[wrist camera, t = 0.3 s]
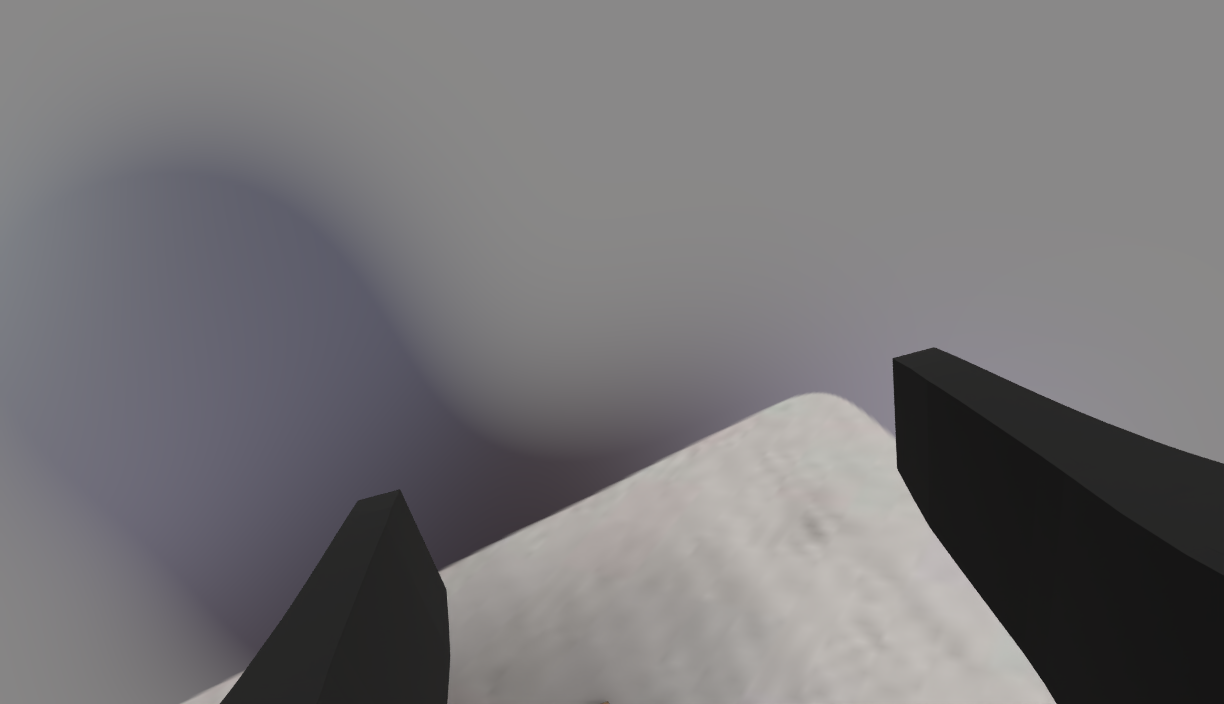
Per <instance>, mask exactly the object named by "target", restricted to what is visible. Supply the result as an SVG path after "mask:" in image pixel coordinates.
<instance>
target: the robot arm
mask: <svg viewBox="0 0 1224 704" xmlns="http://www.w3.org/2000/svg"><path fill="white" fill-rule="evenodd" d="M893 380H894V404H895V428H896V452H897V469H898V471H899V473H900V475H901V476H902V478H903V480H904V482H905V484H906V486H907V488H908V489H909V491H910V493H911V495H912V497H913V499H914V501H915V502H916V504H917V506H918V508H919V509H920V511H921V513H922V515H923V516H924V518H925V520H926V521H927V523H928V525H929V527H930V528H931V529H932V531H933V532H934V534H935V535H936V536H937V538H938V539H939V541H940V542H941V543H942V545H943V546H944V547H945V549H946V550H947V551H948V553H949V554H950V555H951V557H952V558H953V560H954V561H955V562H956V564H957V565H958V566H959V568H960V569H961V570H962V572H963V573H964V574H965V576H966V577H967V578H968V580H969V581H970V582H971V584H972V585H973V586H974V588H975V589H976V590H977V592H978V593H979V594H980V596H981V597H982V598H983V600H984V601H985V602H986V604H987V605H988V606H989V608H990V609H991V610H992V612H993V613H994V614H995V616H996V617H997V618H998V620H999V621H1000V622H1001V624H1002V625H1003V626H1004V628H1005V629H1006V630H1007V632H1008V633H1009V634H1010V636H1011V637H1012V638H1013V640H1014V641H1015V642H1016V644H1017V645H1018V646H1019V648H1020V649H1021V650H1022V652H1023V653H1024V654H1025V656H1026V657H1027V659H1028V660H1029V662H1030V663H1031V665H1032V666H1033V668H1034V669H1035V671H1036V672H1037V673H1038V675H1039V676H1040V678H1041V679H1042V681H1043V682H1044V684H1045V685H1046V687H1047V689H1048V690H1049V692H1050V693H1051V695H1052V697H1053V698H1054V700H1055V702H1056V703H1057V704H1224V464H1223V463H1220V462H1216V461H1213V460H1209V459H1207V458H1203V457H1200V456H1197V455H1194V454H1190V453H1187V452H1185V451H1181V450H1179V449H1176V448H1172V447H1169V446H1167V445H1164V444H1161V443H1158V442H1155V441H1153V440H1150V439H1147V438H1145V437H1142V436H1140V435H1137V434H1135V433H1132V432H1129V431H1127V430H1124V429H1121V428H1119V427H1116V426H1113V425H1111V424H1108V423H1106V422H1103V421H1101V420H1098V419H1096V418H1093V417H1091V416H1088V415H1086V414H1084V413H1081V412H1079V411H1076V410H1074V409H1072V408H1069V407H1067V406H1065V405H1062V404H1060V403H1058V402H1055V401H1053V400H1051V399H1049V398H1046V397H1044V396H1042V395H1039V394H1037V393H1035V392H1033V391H1030V390H1028V389H1026V388H1024V387H1022V386H1019V385H1017V384H1015V383H1013V382H1011V381H1009V380H1006V379H1004V378H1002V377H1000V376H998V375H996V374H993V373H991V372H989V371H987V370H985V369H982V368H980V367H978V366H976V365H974V364H971V363H969V362H967V361H965V360H963V359H960V358H958V357H956V356H954V355H951V354H949V353H947V352H944V351H942V350H939V349H937V348H930V349H926V350H922V351H919V352H915V353H911V354H907V355H903V356H900V357H896V358H893ZM449 668H450V641H449V621H448V607H447V592H446V588H445V586H444V583H443V581H442V579H441V577H440V575H439V573H438V570H437V568H436V566H435V564H434V562H433V560H432V557H431V555H430V553H429V551H428V549H427V547H426V545H425V542H424V540H423V538H422V536H421V534H420V532H419V530H418V527H417V525H416V523H415V521H414V519H413V516H412V514H411V512H410V510H409V508H408V506H407V503H406V501H405V499H404V497H403V495H402V493H401V491H400V490H396V491H393V492H389V493H385V494H381V495H377V496H374V497H370V498H366V499H362V500H359V501H358V502H357V503H356V505H355V506H354V508H353V509H352V511H351V512H350V514H349V515H348V517H347V518H346V520H345V522H344V523H343V525H342V526H341V528H340V529H339V531H338V533H337V534H336V536H335V537H334V539H333V541H332V542H331V544H330V545H329V547H328V549H327V550H326V552H325V553H324V555H323V557H322V558H321V560H320V561H319V563H318V565H317V566H316V568H315V569H314V571H313V572H312V574H311V576H310V577H309V579H308V580H307V582H306V584H305V585H304V586H303V588H302V590H301V591H300V593H299V594H298V596H297V597H296V599H295V600H294V602H293V603H292V605H291V606H290V608H289V609H288V611H287V612H286V614H285V615H284V617H283V619H282V620H281V621H280V623H279V624H278V625H277V627H276V628H275V630H274V631H273V632H272V634H271V635H270V637H269V638H268V639H267V641H266V642H265V643H264V645H263V646H262V648H261V649H260V651H259V652H258V653H257V655H256V656H255V658H254V659H253V660H252V662H251V663H250V664H249V666H248V667H247V669H246V670H245V671H244V673H243V674H242V676H241V677H240V678H239V680H238V681H237V682H236V684H235V685H234V686H233V688H232V689H231V690H230V691H229V693H228V694H227V695H226V697H225V698H224V699H223V700H222V702H221V703H220V704H447V699H448V684H449Z"/></svg>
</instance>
